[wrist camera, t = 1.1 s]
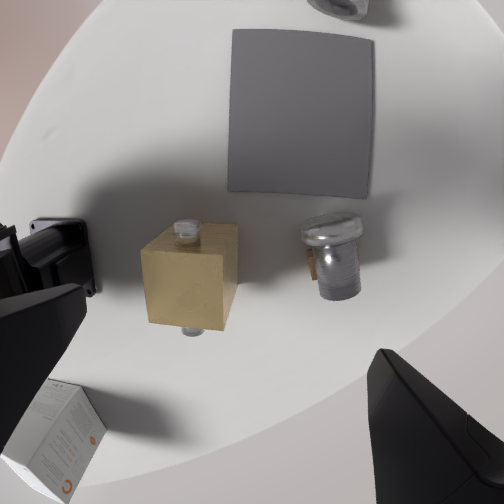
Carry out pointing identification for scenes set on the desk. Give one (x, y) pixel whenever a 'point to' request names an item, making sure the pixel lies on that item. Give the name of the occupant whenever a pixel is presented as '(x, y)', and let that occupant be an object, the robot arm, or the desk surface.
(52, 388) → the small box
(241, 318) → the desk surface
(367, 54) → the mat
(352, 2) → the shaft
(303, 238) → the shaft
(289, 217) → the desk surface
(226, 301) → the coupler
